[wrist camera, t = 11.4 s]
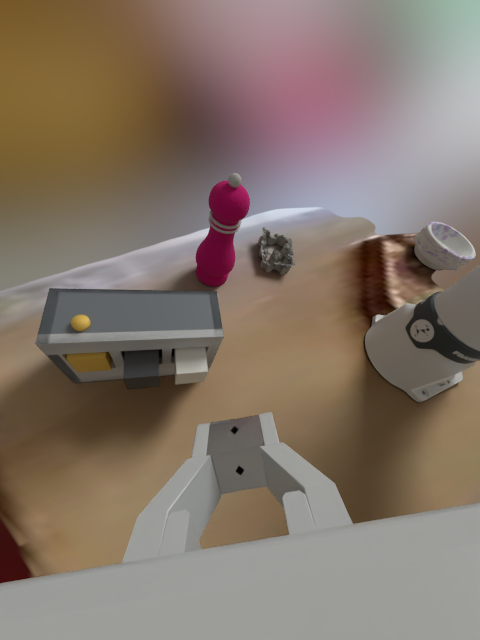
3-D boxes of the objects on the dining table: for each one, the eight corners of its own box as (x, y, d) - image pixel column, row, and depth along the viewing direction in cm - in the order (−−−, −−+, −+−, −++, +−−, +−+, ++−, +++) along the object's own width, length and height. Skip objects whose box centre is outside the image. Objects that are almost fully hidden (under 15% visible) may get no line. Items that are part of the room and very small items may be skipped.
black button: (158, 356, 32) (158, 342, 29) (159, 386, 30) (158, 375, 27) (129, 358, 31) (125, 344, 28) (127, 389, 29) (123, 378, 26)
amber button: (114, 340, 32) (108, 325, 28) (111, 370, 30) (105, 357, 26) (82, 341, 30) (72, 326, 27) (77, 372, 29) (66, 359, 25)
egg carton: (256, 239, 59) (262, 224, 55) (285, 245, 60) (292, 232, 57) (257, 271, 53) (263, 257, 49) (289, 277, 54) (297, 265, 51)
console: (203, 334, 41) (217, 288, 31) (207, 371, 38) (224, 334, 28) (81, 339, 35) (47, 284, 25) (74, 383, 32) (32, 341, 22)
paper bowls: (427, 279, 69) (454, 259, 62) (396, 241, 76) (418, 219, 69) (459, 276, 74) (487, 257, 68) (428, 241, 81) (451, 221, 75)
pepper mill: (211, 294, 46) (238, 196, 30) (185, 271, 47) (197, 164, 31) (236, 277, 50) (272, 182, 34) (211, 256, 51) (234, 154, 35)
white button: (200, 353, 34) (204, 340, 31) (203, 381, 32) (208, 371, 29) (173, 355, 33) (175, 342, 29) (175, 384, 31) (176, 374, 27)
